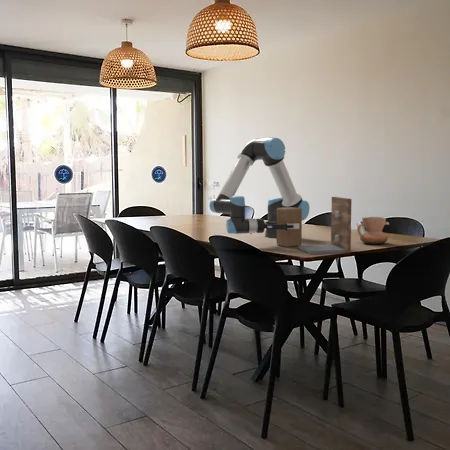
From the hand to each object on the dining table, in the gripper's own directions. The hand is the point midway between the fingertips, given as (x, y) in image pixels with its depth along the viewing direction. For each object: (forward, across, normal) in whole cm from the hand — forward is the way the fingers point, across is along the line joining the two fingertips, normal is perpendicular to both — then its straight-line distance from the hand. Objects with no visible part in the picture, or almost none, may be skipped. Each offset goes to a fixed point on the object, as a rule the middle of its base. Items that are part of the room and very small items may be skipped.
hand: (295, 224), depth 278 cm
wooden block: (-3, 0, -11) cm, 12 cm away
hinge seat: (+7, +20, -11) cm, 24 cm away
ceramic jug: (+43, +3, -11) cm, 44 cm away
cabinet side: (+16, +20, -11) cm, 28 cm away
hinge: (+53, -29, -11) cm, 62 cm away
